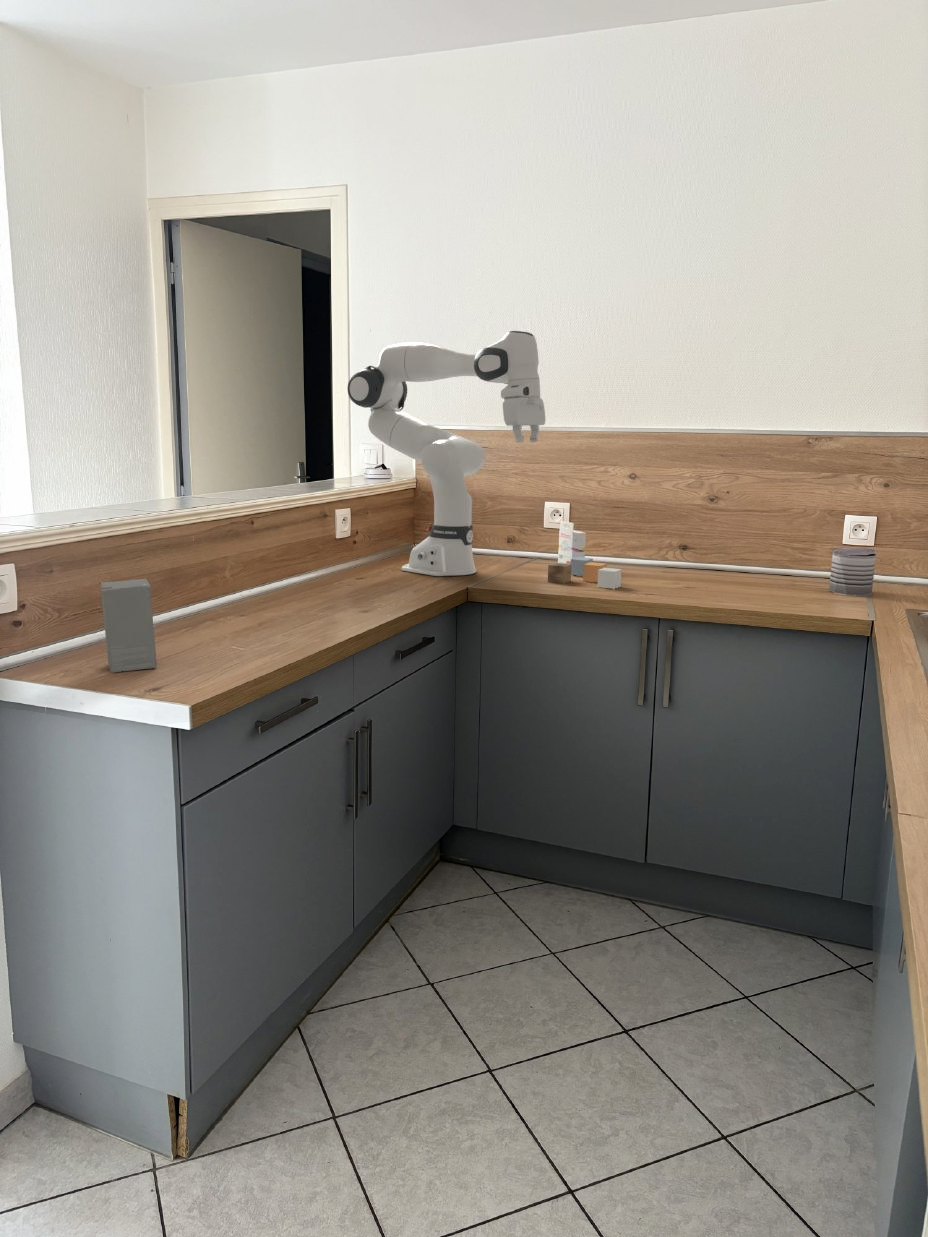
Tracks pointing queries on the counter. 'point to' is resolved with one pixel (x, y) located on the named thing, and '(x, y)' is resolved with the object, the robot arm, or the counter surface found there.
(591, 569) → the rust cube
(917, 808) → the counter surface
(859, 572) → the can
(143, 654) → the skincare box
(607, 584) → the grey cube
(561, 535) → the ink cartridge box
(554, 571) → the walnut cube
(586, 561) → the slate cube
